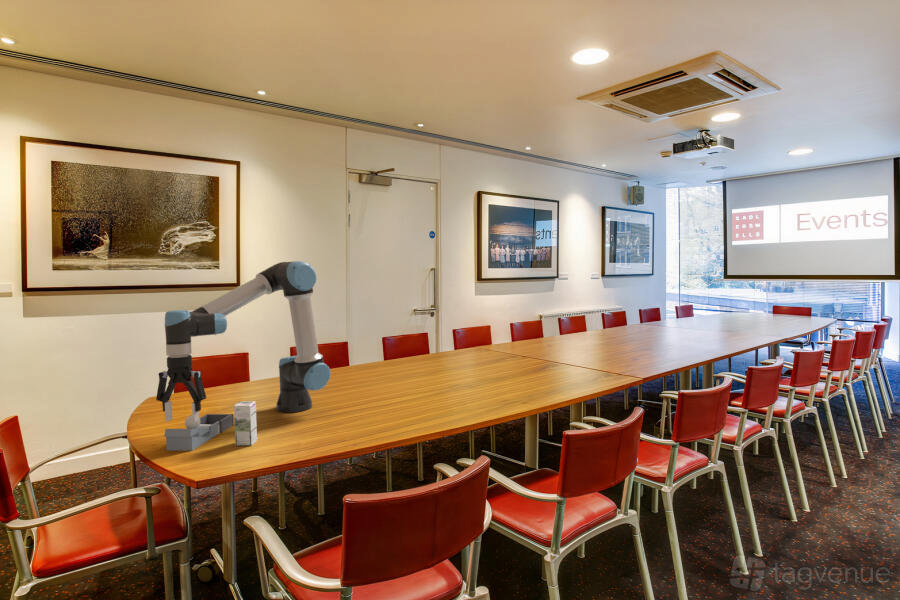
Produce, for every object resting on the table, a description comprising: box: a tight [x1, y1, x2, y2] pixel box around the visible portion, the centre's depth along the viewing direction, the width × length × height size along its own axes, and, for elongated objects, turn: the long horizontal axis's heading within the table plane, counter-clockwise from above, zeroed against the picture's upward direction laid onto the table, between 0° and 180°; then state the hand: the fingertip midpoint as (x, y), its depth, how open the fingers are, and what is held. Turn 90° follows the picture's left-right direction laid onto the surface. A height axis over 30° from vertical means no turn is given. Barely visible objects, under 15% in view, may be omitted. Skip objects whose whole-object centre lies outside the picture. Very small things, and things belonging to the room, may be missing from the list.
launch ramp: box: [163, 421, 221, 452], centre depth 173 cm, size 19×9×8 cm, turn 178°
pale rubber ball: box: [184, 414, 201, 429], centre depth 173 cm, size 5×5×5 cm
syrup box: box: [233, 400, 258, 447], centre depth 170 cm, size 6×6×14 cm
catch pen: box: [199, 413, 234, 434], centre depth 187 cm, size 9×11×4 cm
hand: (182, 420), depth 167 cm, fingers open, 9 cm apart
